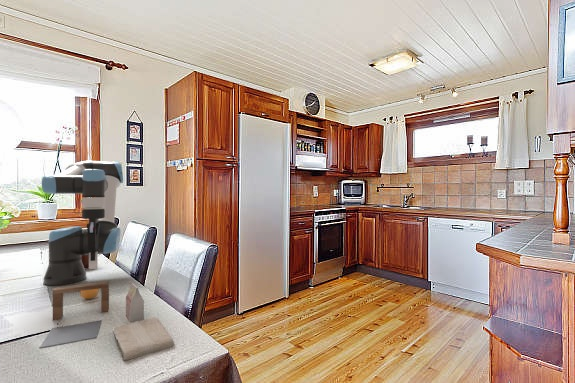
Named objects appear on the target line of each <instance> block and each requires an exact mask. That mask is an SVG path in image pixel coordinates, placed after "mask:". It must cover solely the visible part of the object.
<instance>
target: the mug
mask: <svg viewBox="0 0 575 383" xmlns="http://www.w3.org/2000/svg"><path fill="white" fill-rule="evenodd" d="M81 260H82V264H83V266H84V268H86V269H89V268H88V267H89V255H82V256H81Z"/></svg>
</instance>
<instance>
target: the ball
mask: <svg viewBox="0 0 575 383" xmlns="http://www.w3.org/2000/svg"><path fill="white" fill-rule="evenodd" d="M91 283H92V282H91ZM91 283H88V284H91ZM99 290H100V289H92V290H84V291H80V295H81V297H82V298H83V299H85V300H90V299H91V300H92V299H94V298H95V297H96V296H97V295H98V293H99V292H100V291H99Z"/></svg>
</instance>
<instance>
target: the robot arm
mask: <svg viewBox="0 0 575 383" xmlns="http://www.w3.org/2000/svg"><path fill="white" fill-rule="evenodd" d="M122 183H124V174H123V166H122V163H121V162H119V161H102V160H83V161H79V162H74V163H71V164H69V165H68V166H67V167H66V168H65V170H64V171H62V172H59V174H57V175H56V174H45V175H44V176H42V178H41V190H42V192H43V193H44V194H51V195H56V194H57V195H58V194H59V195H61V194H63V195H67V194H68V195H69V194H74V195H77V194H78V195H81V197H82V199H81V200H80V201H79V202H80V203H81V207H82V208H83V209H82V210H81V218H82V219H83V220H88V223H86V228H85V229H84V228H83V227H82V226H81V225H77V226H76V225H75V226H68V227H62V228H57V229H54V230H52V231H50V232H49V234H48V242H47V243H48V265H47V268H46V271H45V273H44V276H43V280H42V282H43V285H45V284H46V286H62V285H66V284H67V285H69V284H73V283H78V282H80V281H84V280H85V279H86V278H87V272H86V269H84V266H83V264H82V260H81V256H82V255H89V268H88V270H96V269H98V266H99V265H98V264H99V263H98V262H99V261H98V260H99V259H98V256H99V255H107V254H114V253H116V252H117V250H118V249H119V246H120V241H121V228H120V227H118V225H117V224H116V223H115V215H116V214H115V213H116V200H117V199H116V198H117V189H118V188H119V187H120V186H121V185H120V184H122Z"/></svg>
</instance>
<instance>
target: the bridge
mask: <svg viewBox="0 0 575 383" xmlns="http://www.w3.org/2000/svg"><path fill="white" fill-rule="evenodd" d="M92 289H99V290H100V292H101V293H100V314H106V313H109V311H110V281H101V282H93V283H92V282H91V284H89V283H83V284H75V285H65V286H57V287H56V286H55V287H54V288H53V289H52V322H53V321H61V320H62V318H63V317H64V294H67V293H74V292H75V293H76V292H81V291H84V290H92Z"/></svg>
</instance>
